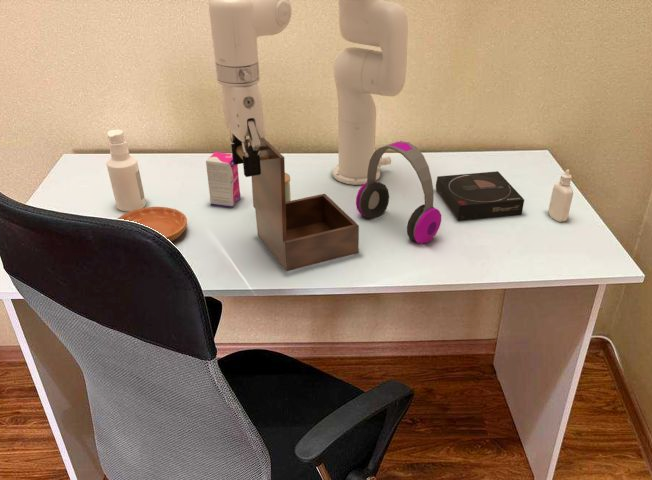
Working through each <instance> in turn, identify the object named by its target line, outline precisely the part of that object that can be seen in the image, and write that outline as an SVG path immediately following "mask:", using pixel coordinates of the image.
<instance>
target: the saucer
mask: <svg viewBox="0 0 652 480" xmlns="http://www.w3.org/2000/svg"><path fill="white" fill-rule="evenodd" d="M117 219H124V220H129V221H134V222H137V223H140V224H143V225H145V226H148V227H150V228H152V229H154V230H156V231H158V232H159V233H161V234H162V235H164V236H165V237H166V238H167V239H169V240H170V241H171V242H170V243H172V242H174V241H175V240H177V239H178V238H180V236H181V235H182V234H184V231H186V229H187V227H188V218H187V216H186V214H184V212H182V211H181V210H178V209H176V208H171V207H166V206H149V207H143V208H141V209H137V210H133V211H127V212H126V213H123V214H122V215H120V216H119V217H118V218H117Z"/></svg>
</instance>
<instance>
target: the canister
mask: <svg viewBox="0 0 652 480" xmlns="http://www.w3.org/2000/svg"><path fill="white" fill-rule="evenodd" d="M291 193H292V192H291V175H290V174H289V173H287V172H285V202H288V201H292V196H291V195H292V194H291Z"/></svg>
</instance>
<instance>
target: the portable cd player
mask: <svg viewBox="0 0 652 480" xmlns="http://www.w3.org/2000/svg"><path fill="white" fill-rule="evenodd" d="M435 191H436V193H437V195H438V196H439V197H440V199H441V200H442V202H443V203H444V204H445V206H446V208H447V209H448V210H449V211H450V213H451V214H452V215H453V217H454V219H455V220H456V221H457V222H464V221H475V220H484V219H494V218H502V217H503V218H505V217H514V216H522V215H523V209H524V204H525V199H524V197H523V196H522V195H521V194H520V193H519V192H518V191H517V190H516V189H515V188H514V187H513V186H512V185H511V184H510V182H509V181H508V180H507V179H506V178H505V177H504V176H503V175H502V173H500V172H499V171H498V170H496V171H486V172H485V171H484V172H474V173H473V172H472V173H461V174H450V175H439V176H437V177H436V182H435Z"/></svg>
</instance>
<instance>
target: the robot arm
mask: <svg viewBox="0 0 652 480" xmlns="http://www.w3.org/2000/svg"><path fill="white" fill-rule="evenodd" d="M208 12H209V21H210V30H211V38H212V39H211V40H212V47H213V56H214V65H215V74H216V81H217V83H218V85H221V97H222V110H223V111H222V112H223V117H224V124H225V126H226V128H227V129H228V131H229V132H230V133H229V134H230V136H229V137H230V143H231V144H230V146H231V147H230V148H231V154H232V156H233V163H234V164H235V165H236V164H238V165H241V164H242V166H243V175H244V176H245V178H250V177H252V176H255V175H260V174H261V166H260V151H259V149H260V146H261V143H260V140H259V137H260V138H261V139H264V138H266V127H265V126H266V125H265V117H264V111H263V103H262V97H261V92H260V87H259V83H260V81H261V78H260V66H259V52H258V38H259V37H265V36H266V37H267V36H274V35H278V34H280V33H282V32H283V31H284V30H286V29H287V28H288V25H290V24H289V23H290V22H291V19H292V3H291V1H290V0H209V1H208ZM408 21H409V20H408V16H407V12H406V10H405V7H404V6H402V4H401V3H398V2H396V1H391V0H338V24H339V31H340V35H341V37H342V38H343V39H344V40H345V41H347V42H349V43H353V44H358V45H365V46H369V47H370V46H371V47H376V48H380V50H381V51H380V50H374V49H369V48H364V47H355V46H353V47H352V46H351V47H345V48H343V49H341V50H339V51H338V53H337V54H336V55H335V58H334V59H333V60H334V61H333V76H334V77H333V78H334V82H335V85H336V94H337V95H336V96H337V134H338V135H337V139H338V140H337V141H338V142H337V143H338V144H337V145H338V147H337V148H338V164H337V165H335V166H334V167H333V169H332V176H333V178H334V179H335V180H336V181H338V182H340V183H344V184H347V185H353V186H354V185H357V186H358V185H361V186H362V185H364V184H365V183H366V182H367V174H368V166H369V162H370V159H371V157H372V155H373V153H374V152H375V151H376V133H377V131H376V128H377V107H376V103H375V100H374V98H373V96H372V95H376V96H380V97H381V96H382V97H389V98H391V97H392V98H393V97H396V96H399V94H401V92H402V91H403V89H404V86H405V82H406V77H407V76H406V75H407V60H408V58H407V57H408V35H409V33H408V32H409V22H408ZM249 136H250V139H249V138H247V137H249ZM250 142H251V145H250ZM240 145H242V147H243V152H244V156H242V157H243V160H242V159H241V158H240V157H239V156H238V154H237V153H236V148H237V147H238V146H240ZM247 148H248V149H247ZM391 164H392V158H391V157H390V156H385V157H383V156H382V157H381V158H380V161H379V164H378V167H377V173H376V181H377V180H379V179H380V177H381V170H380V168H381V167H382V166H387V165H391Z"/></svg>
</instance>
